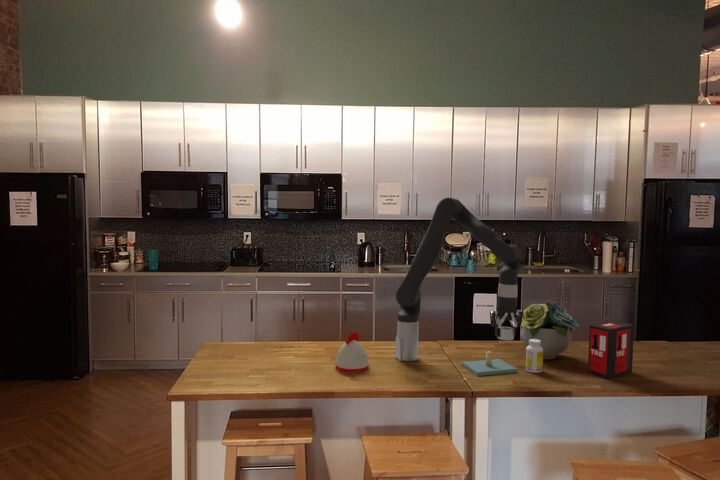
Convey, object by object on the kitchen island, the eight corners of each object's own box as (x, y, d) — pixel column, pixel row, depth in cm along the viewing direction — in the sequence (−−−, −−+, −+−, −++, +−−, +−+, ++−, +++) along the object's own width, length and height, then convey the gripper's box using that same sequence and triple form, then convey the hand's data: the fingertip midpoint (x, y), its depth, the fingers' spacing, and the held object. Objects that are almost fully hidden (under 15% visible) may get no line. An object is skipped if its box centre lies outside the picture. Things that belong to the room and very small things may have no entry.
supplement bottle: (542, 369, 224) (543, 339, 223) (542, 374, 218) (543, 343, 217) (525, 367, 226) (526, 337, 225) (525, 372, 220) (526, 341, 219)
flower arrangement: (548, 347, 258) (549, 296, 256) (586, 362, 235) (589, 307, 233) (504, 352, 249) (506, 300, 247) (540, 368, 226) (542, 311, 224)
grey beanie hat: (375, 367, 226) (375, 332, 224) (352, 375, 215) (353, 338, 214) (351, 360, 235) (351, 326, 234) (328, 367, 225) (328, 332, 224)
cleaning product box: (611, 366, 228) (613, 320, 227) (631, 372, 221) (634, 324, 219) (587, 373, 220) (589, 325, 218) (607, 379, 212) (609, 329, 211)
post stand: (477, 375, 215) (477, 357, 215) (461, 365, 229) (462, 348, 228) (516, 372, 220) (517, 354, 219) (499, 362, 234) (499, 345, 233)
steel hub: (502, 340, 211) (503, 330, 210) (494, 336, 216) (495, 326, 216) (516, 339, 212) (516, 330, 212) (508, 335, 218) (508, 326, 218)
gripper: (518, 292, 218) (516, 333, 220) (486, 293, 215) (484, 334, 216) (528, 296, 211) (526, 338, 213) (495, 297, 207) (493, 339, 209)
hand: (505, 336), depth 214 cm, fingers closed on steel hub, 6 cm apart
